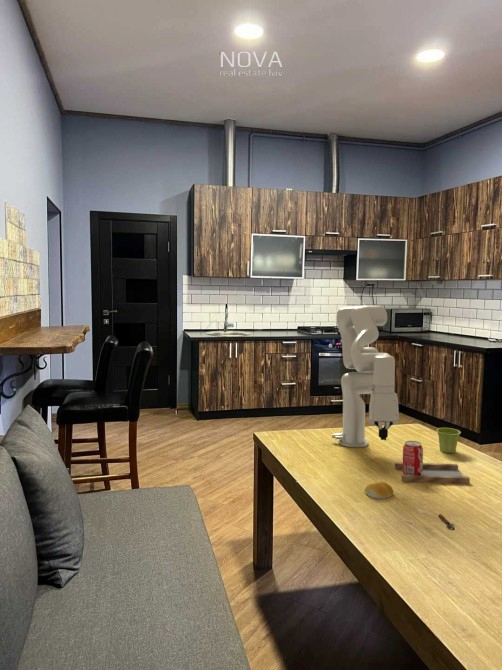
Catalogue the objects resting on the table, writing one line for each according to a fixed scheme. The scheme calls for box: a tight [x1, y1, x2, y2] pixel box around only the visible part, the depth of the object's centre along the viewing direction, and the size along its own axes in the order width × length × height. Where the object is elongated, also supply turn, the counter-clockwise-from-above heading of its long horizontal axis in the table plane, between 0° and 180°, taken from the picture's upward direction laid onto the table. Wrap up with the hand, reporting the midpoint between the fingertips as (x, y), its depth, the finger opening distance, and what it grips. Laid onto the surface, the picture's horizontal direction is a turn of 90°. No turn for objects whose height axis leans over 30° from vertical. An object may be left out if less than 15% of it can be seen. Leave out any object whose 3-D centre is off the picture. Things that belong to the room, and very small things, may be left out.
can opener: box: [438, 514, 456, 531], centre depth 150 cm, size 9×2×1 cm, turn 179°
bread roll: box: [364, 481, 394, 500], centre depth 171 cm, size 8×9×4 cm
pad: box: [422, 469, 464, 476], centre depth 187 cm, size 14×11×1 cm
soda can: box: [402, 440, 424, 475], centre depth 187 cm, size 7×7×12 cm
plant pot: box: [436, 427, 462, 454], centre depth 214 cm, size 9×9×9 cm
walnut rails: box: [394, 462, 471, 485], centre depth 187 cm, size 23×14×2 cm, turn 86°
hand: (383, 439), depth 187 cm, fingers closed
